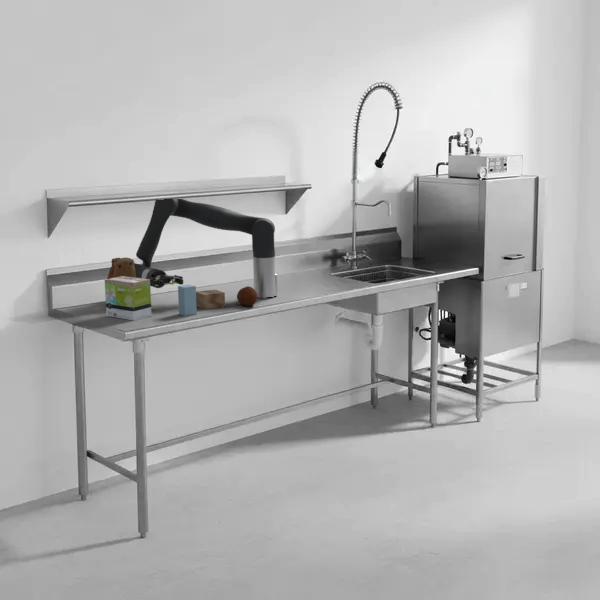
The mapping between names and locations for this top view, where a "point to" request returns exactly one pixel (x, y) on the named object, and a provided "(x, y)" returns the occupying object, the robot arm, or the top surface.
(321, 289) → the top surface
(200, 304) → the brown wooden block
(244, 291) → the potato
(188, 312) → the pillar
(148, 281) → the tea box
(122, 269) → the brown tapered piece
